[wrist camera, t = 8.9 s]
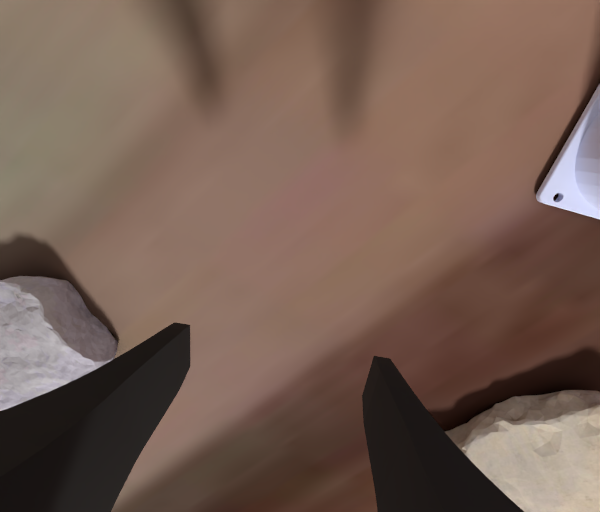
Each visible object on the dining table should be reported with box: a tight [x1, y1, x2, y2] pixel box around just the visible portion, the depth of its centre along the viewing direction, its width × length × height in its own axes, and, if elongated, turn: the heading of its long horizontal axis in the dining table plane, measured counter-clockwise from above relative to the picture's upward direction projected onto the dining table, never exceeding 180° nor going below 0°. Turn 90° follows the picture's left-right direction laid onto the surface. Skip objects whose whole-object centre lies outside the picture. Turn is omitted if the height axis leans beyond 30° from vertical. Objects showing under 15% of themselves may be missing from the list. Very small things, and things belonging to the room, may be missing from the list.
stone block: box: [0, 276, 118, 411], centre depth 23 cm, size 12×5×10 cm
